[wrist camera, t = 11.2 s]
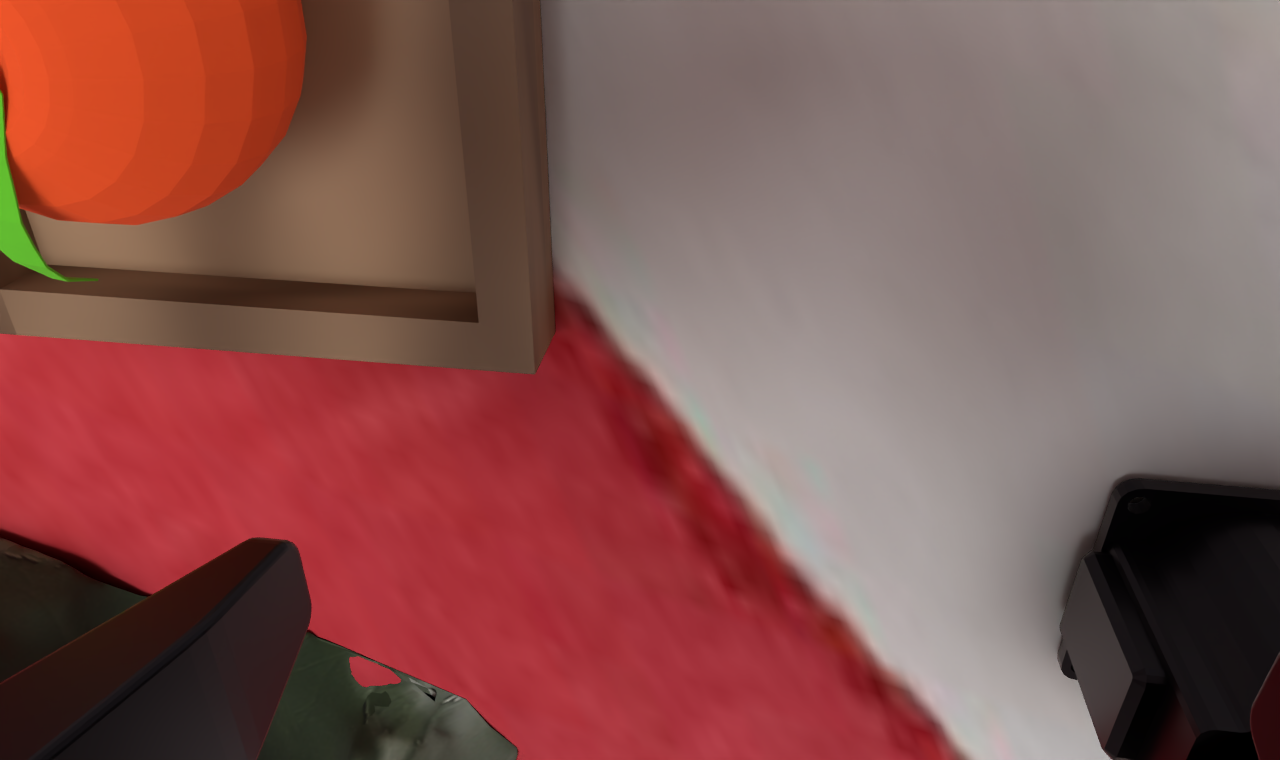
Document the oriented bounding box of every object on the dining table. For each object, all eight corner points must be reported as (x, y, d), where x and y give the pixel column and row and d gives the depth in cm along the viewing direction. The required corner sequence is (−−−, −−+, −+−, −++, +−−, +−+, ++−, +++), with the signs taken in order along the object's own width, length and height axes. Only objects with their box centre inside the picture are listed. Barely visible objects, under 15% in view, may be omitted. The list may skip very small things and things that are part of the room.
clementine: (368, 231, 21) (196, 389, 15) (82, 175, 21) (-205, 307, 15) (365, -171, 17) (124, -184, 11) (8, -235, 17) (-428, -283, 11)
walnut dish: (521, -417, 15) (485, -453, 13) (555, 331, 22) (535, 374, 20) (-220, -397, 17) (-342, -426, 15) (33, 295, 24) (-28, 331, 22)
